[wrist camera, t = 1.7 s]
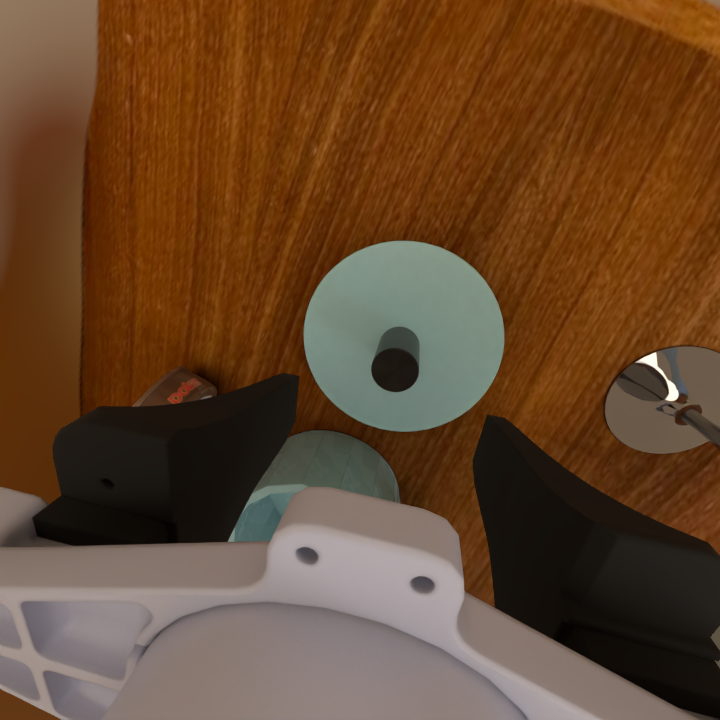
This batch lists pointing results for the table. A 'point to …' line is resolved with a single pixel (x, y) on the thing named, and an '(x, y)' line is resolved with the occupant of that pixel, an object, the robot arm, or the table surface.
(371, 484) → the pot
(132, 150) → the table surface
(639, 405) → the wine glass
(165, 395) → the tin
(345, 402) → the lid
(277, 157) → the table surface
